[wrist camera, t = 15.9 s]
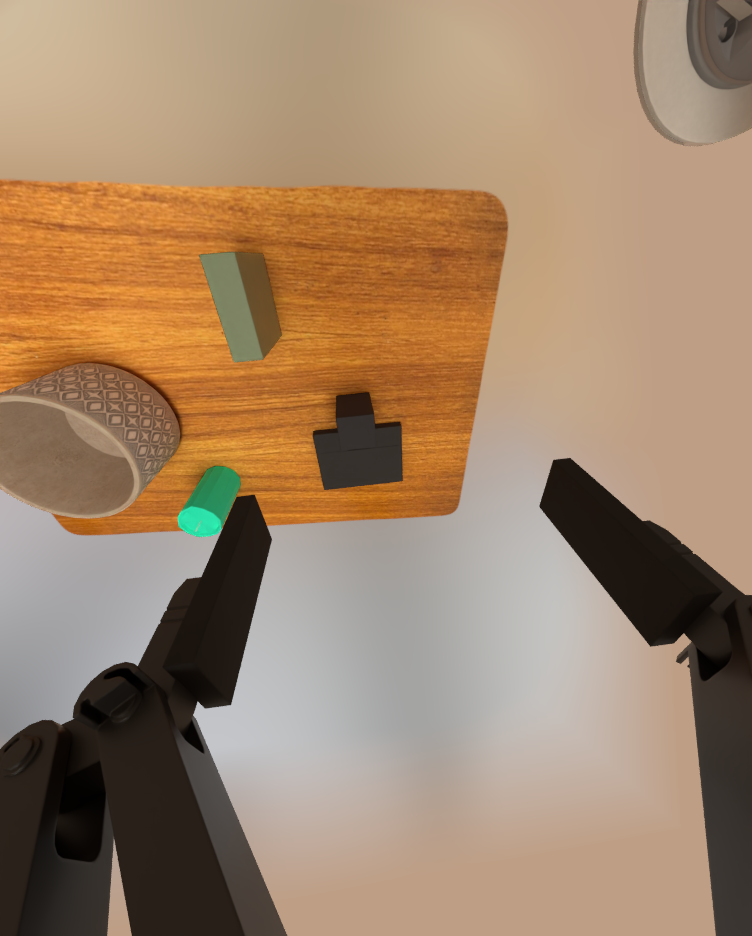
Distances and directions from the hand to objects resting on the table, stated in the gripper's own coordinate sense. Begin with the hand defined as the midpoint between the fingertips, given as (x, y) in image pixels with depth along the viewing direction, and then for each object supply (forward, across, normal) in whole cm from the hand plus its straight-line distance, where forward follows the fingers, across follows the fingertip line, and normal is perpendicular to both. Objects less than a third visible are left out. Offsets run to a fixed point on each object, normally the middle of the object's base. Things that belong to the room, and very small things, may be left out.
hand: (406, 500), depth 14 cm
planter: (+34, -36, -8) cm, 51 cm away
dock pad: (+34, -2, -19) cm, 39 cm away
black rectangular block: (+34, -2, -12) cm, 36 cm away
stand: (+34, -12, +6) cm, 37 cm away
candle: (+34, -26, -21) cm, 48 cm away
